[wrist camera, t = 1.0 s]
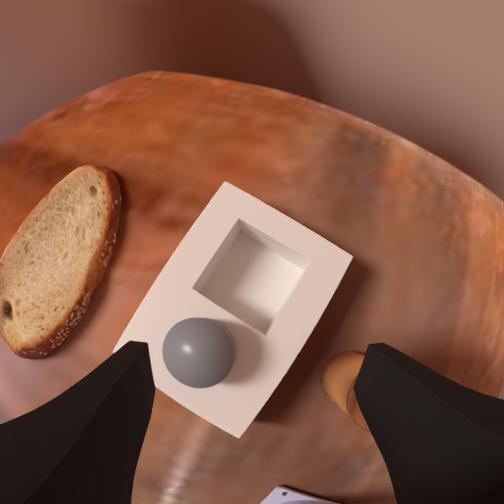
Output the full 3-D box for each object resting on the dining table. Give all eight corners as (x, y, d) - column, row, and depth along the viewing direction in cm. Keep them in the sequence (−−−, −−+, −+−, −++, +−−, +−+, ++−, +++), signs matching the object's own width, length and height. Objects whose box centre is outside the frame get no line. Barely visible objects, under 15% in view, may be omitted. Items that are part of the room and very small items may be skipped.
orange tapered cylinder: (377, 363, 19) (426, 378, 12) (351, 407, 18) (390, 439, 11) (338, 341, 19) (377, 350, 12) (309, 387, 18) (336, 417, 12)
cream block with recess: (337, 266, 21) (364, 248, 15) (241, 420, 18) (237, 451, 12) (229, 201, 22) (222, 166, 16) (133, 347, 19) (97, 354, 14)
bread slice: (124, 160, 24) (109, 139, 20) (136, 356, 19) (115, 362, 16) (8, 205, 23) (-10, 193, 19) (7, 356, 19) (-16, 356, 15)
